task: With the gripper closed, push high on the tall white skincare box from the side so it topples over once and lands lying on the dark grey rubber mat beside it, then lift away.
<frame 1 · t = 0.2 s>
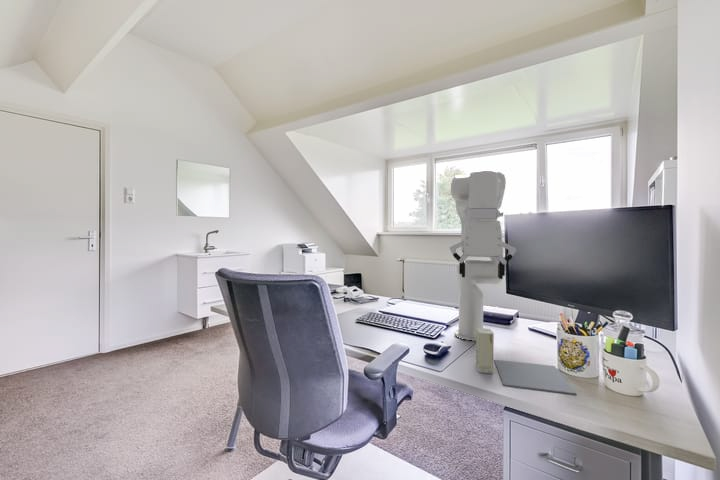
hand: (481, 277, 89), 31 cm above the table, fingers open, 9 cm apart
skincare box: (484, 369, 100), on the table
desk mat: (530, 375, 96), on the table
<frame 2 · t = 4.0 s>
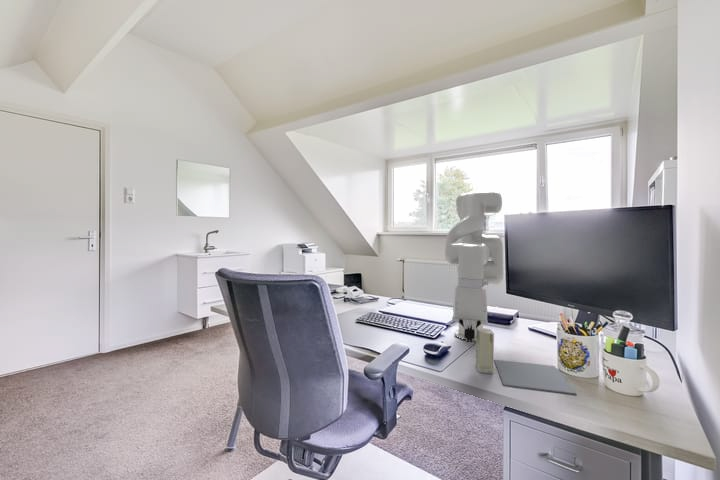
hand: (469, 340, 101), 9 cm above the table, fingers closed
skincare box: (484, 369, 100), on the table, touching gripper
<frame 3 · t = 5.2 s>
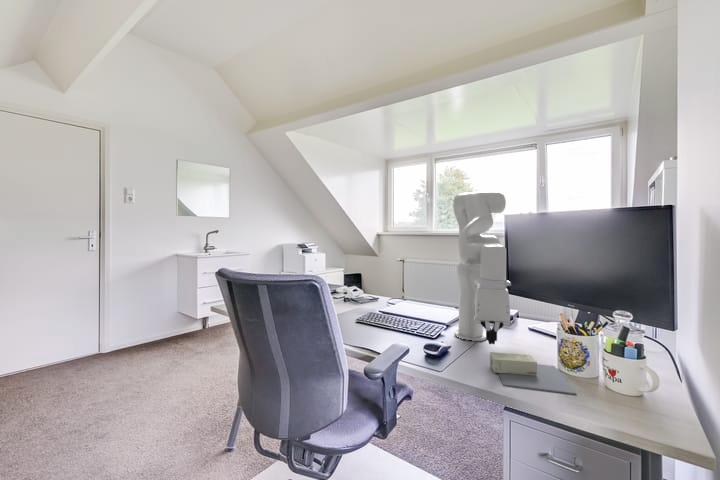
hand: (491, 342, 100), 9 cm above the table, fingers closed
skincare box: (490, 361, 100), point 3 cm above the table, touching desk mat
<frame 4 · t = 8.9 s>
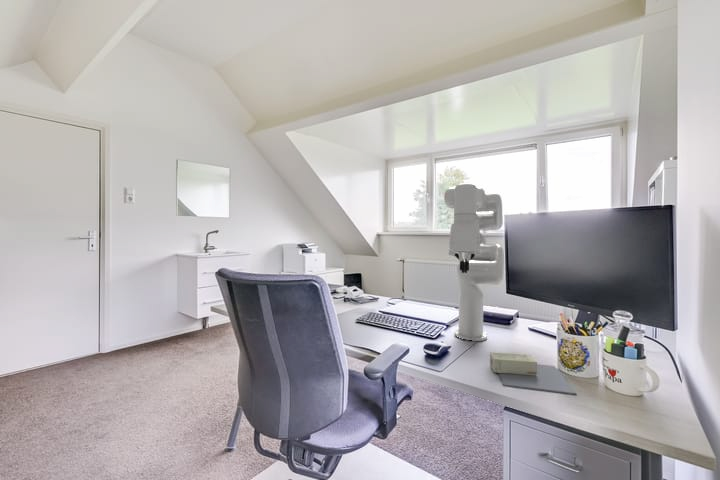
hand: (464, 272, 111), 29 cm above the table, fingers closed
nothing on the table moved.
at the end: skincare box tilted 90°; skincare box touching desk mat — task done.
